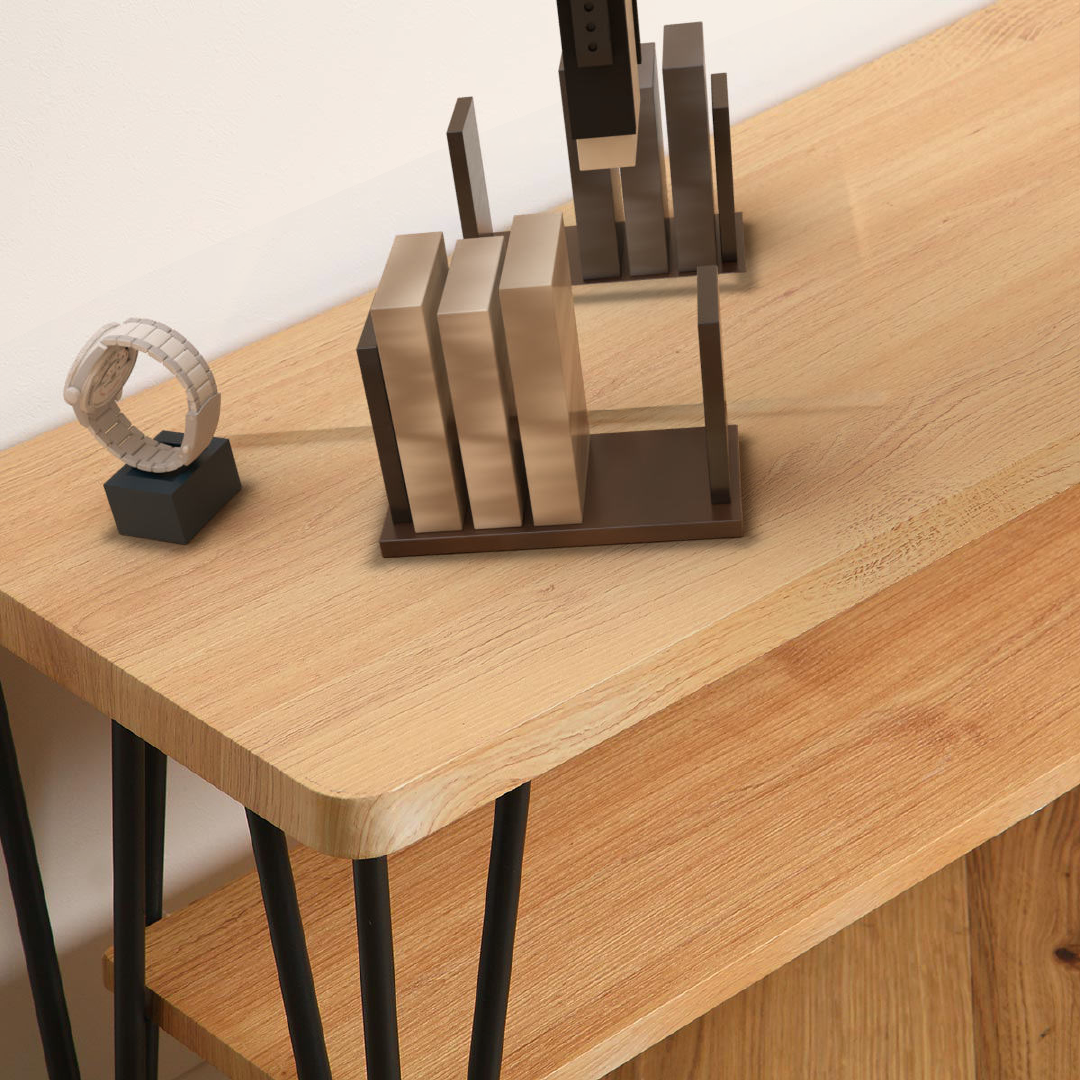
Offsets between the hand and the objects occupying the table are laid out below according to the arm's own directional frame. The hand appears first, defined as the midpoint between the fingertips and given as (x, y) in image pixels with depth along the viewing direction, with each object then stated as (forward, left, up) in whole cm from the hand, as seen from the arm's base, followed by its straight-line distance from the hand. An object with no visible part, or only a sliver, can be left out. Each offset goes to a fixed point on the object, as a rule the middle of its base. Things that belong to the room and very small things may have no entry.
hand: (608, 96), depth 72 cm
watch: (+25, 0, -21) cm, 33 cm away
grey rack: (+3, -26, -21) cm, 34 cm away
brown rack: (+4, +1, -21) cm, 21 cm away
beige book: (0, 0, -2) cm, 2 cm away
